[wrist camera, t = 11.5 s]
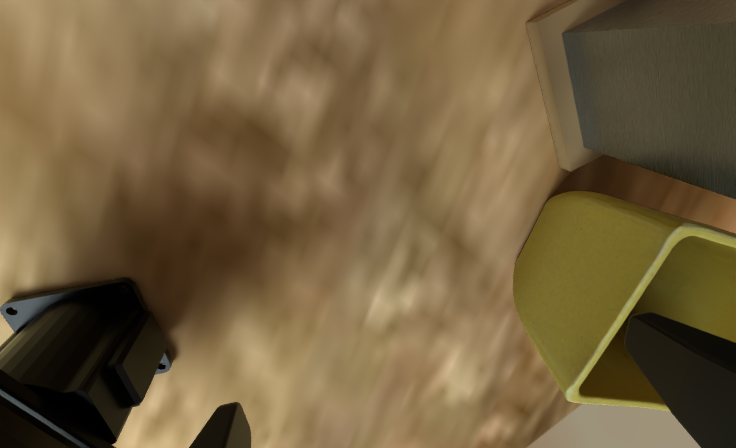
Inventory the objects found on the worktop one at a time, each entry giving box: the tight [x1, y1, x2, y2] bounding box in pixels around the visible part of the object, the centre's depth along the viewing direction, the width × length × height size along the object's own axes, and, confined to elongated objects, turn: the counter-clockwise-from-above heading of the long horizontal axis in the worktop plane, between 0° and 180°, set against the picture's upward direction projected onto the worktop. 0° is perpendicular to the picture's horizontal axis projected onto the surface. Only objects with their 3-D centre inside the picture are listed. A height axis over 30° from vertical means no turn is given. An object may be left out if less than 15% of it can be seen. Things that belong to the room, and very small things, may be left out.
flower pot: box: [513, 191, 736, 411], centre depth 20 cm, size 9×9×9 cm
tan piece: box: [526, 0, 626, 172], centre depth 17 cm, size 8×8×5 cm
